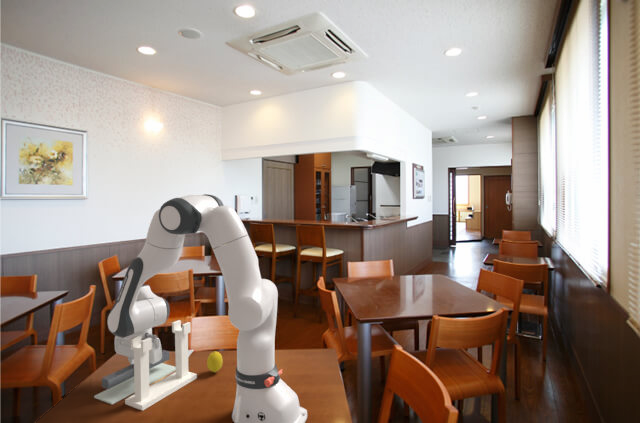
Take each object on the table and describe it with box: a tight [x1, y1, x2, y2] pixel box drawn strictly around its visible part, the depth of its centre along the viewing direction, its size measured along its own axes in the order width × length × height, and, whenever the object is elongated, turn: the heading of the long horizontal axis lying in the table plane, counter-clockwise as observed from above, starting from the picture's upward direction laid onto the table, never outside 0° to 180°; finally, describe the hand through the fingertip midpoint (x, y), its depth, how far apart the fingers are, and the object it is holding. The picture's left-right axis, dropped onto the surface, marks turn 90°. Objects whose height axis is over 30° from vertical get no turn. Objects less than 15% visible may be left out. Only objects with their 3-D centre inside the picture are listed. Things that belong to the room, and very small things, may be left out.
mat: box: [93, 362, 176, 405], centre depth 125 cm, size 9×26×1 cm, turn 154°
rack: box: [124, 319, 198, 411], centre depth 119 cm, size 8×22×20 cm, turn 154°
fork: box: [188, 349, 195, 358], centre depth 142 cm, size 3×21×3 cm, turn 9°
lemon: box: [206, 350, 224, 373], centre depth 132 cm, size 6×6×8 cm
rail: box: [101, 349, 170, 390], centre depth 125 cm, size 3×24×3 cm, turn 154°
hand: (138, 370), depth 125 cm, fingers closed on rail, 3 cm apart
